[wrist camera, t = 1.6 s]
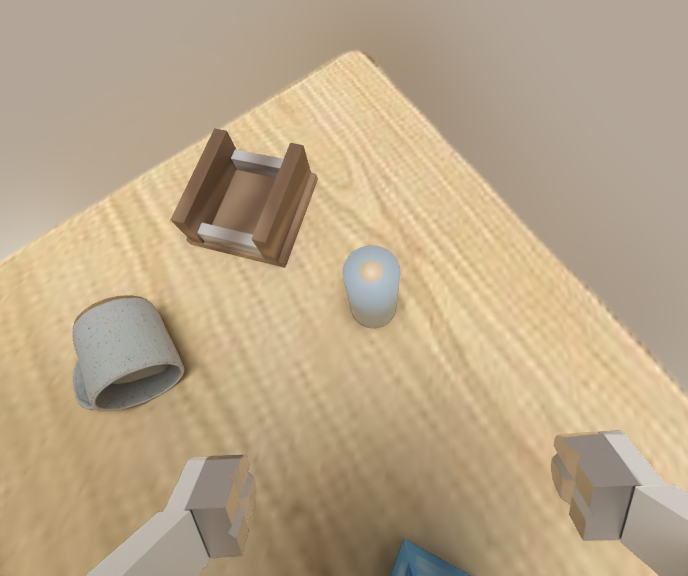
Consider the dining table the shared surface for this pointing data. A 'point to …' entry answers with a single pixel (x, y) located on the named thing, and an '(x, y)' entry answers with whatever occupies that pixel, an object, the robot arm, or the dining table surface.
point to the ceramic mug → (122, 354)
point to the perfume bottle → (421, 563)
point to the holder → (246, 201)
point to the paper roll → (372, 285)
